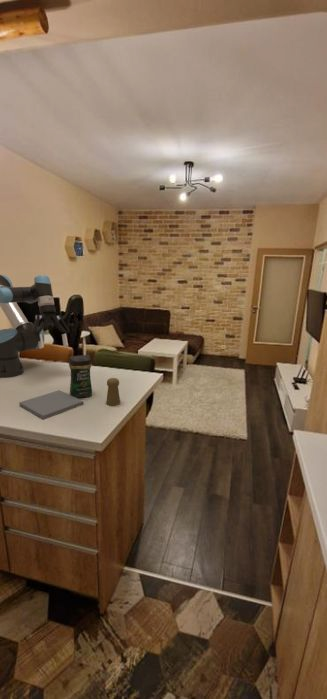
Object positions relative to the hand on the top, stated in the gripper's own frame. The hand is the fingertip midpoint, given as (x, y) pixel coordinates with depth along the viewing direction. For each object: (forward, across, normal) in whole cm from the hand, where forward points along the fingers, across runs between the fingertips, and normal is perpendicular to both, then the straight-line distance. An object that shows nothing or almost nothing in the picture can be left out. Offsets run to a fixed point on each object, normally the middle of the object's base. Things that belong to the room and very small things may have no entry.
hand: (54, 347), depth 153 cm
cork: (+32, +2, -32) cm, 46 cm away
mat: (+27, -16, -16) cm, 36 cm away
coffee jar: (+26, -2, -17) cm, 31 cm away
